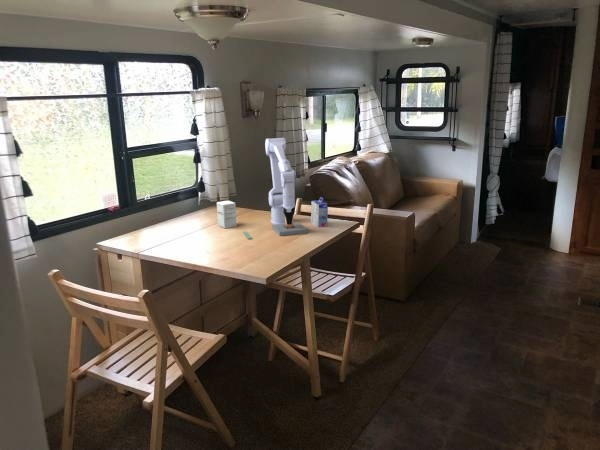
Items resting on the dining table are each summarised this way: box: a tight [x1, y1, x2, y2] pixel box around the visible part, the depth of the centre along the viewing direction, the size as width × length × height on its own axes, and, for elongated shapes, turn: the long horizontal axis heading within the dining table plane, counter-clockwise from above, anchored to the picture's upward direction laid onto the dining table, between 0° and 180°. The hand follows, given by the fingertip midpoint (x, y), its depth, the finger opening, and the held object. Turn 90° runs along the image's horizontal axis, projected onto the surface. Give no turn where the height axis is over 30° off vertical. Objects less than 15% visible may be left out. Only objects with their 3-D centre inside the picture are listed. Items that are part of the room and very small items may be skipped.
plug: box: [285, 217, 294, 229], centre depth 241 cm, size 4×4×7 cm
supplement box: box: [216, 200, 237, 229], centre depth 253 cm, size 7×7×13 cm
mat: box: [242, 230, 253, 240], centre depth 238 cm, size 12×12×1 cm
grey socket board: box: [271, 221, 309, 237], centre depth 242 cm, size 14×14×2 cm
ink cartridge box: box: [310, 196, 329, 228], centre depth 251 cm, size 10×6×14 cm, turn 22°
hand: (289, 223), depth 241 cm, fingers closed on plug, 4 cm apart
